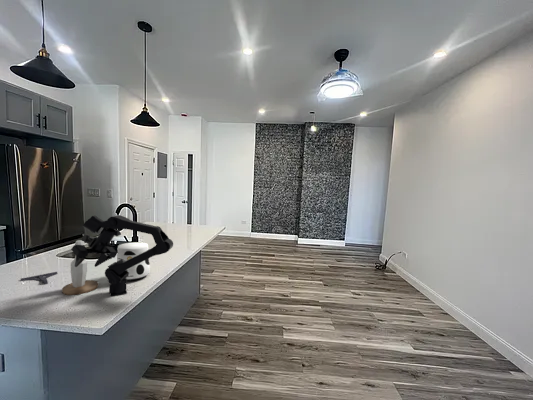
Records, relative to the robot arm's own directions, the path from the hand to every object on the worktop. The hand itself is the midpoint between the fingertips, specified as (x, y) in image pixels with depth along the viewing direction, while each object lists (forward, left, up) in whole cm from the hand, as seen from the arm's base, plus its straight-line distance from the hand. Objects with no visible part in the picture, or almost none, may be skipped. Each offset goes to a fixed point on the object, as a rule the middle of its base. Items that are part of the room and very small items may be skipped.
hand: (85, 266), depth 115 cm
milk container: (-21, -12, -13) cm, 27 cm away
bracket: (+19, -27, -13) cm, 35 cm away
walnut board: (+2, -6, -13) cm, 14 cm away
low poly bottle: (+3, -7, -11) cm, 13 cm away
